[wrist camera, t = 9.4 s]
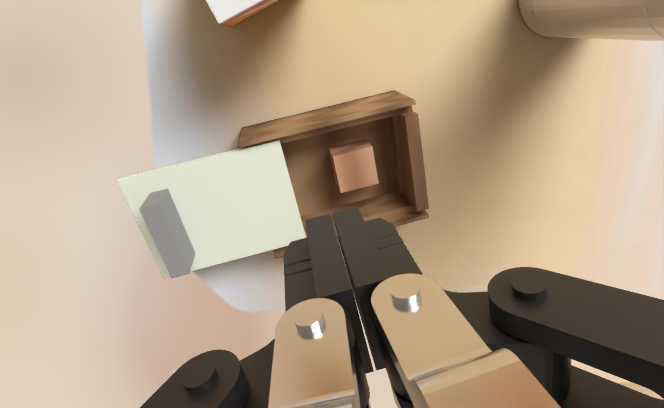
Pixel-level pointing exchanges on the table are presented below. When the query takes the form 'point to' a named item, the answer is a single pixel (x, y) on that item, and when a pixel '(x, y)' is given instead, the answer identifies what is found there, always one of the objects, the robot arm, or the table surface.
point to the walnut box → (352, 159)
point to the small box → (236, 9)
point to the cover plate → (215, 208)
